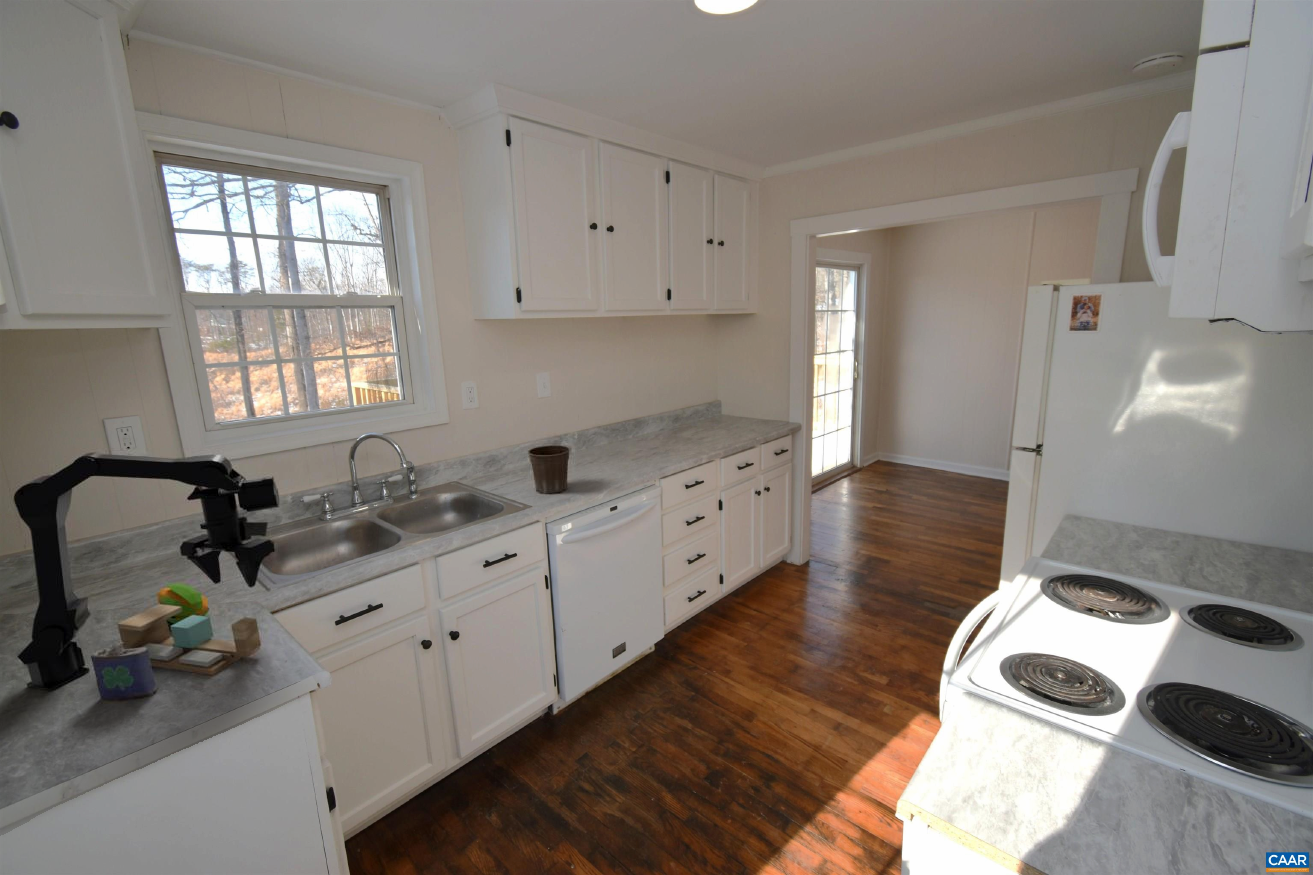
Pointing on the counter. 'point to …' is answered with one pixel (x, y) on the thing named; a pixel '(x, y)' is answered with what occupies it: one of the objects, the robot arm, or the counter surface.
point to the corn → (183, 601)
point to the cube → (192, 631)
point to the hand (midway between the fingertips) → (234, 584)
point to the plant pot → (550, 468)
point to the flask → (123, 673)
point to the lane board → (163, 639)
